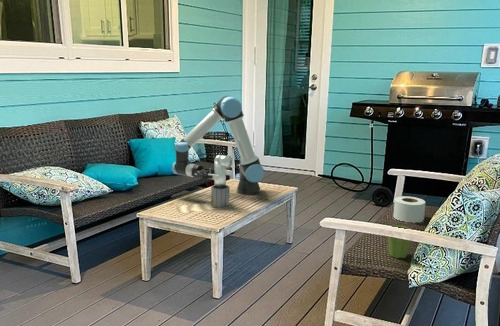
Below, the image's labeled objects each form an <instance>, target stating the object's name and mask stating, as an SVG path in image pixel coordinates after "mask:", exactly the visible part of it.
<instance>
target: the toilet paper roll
mask: <svg viewBox="0 0 500 326" xmlns="http://www.w3.org/2000/svg"><path fill="white" fill-rule="evenodd" d="M393 204H394V205H393V216H392V217H394V218H395V219H397V220H400V221H405V222H413V223H415V222H422V221H423V220H424V221H425V212H426V211H425V210H426V204H427V203H426V201H425V200H424V199H422V198H418V197H414V196H404V195H402V196H397V197H395V198H394V203H393ZM394 218H393V219H394ZM395 219H394V220H395ZM424 221H423V222H424ZM423 222H422V223H423Z"/></svg>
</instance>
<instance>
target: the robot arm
mask: <svg viewBox="0 0 500 326" xmlns="http://www.w3.org/2000/svg"><path fill="white" fill-rule="evenodd" d="M242 109H243V107H242V103H241V101H240V100H239V99H238V98H237V97H235V96H231V95H225V96H223V97H221V98H220V100H218V101H217V103H216V104H214V106H213V107H212V109H211V111H210V112H209V113H208V114H207V115H206V116H204V118H202V120H201V121H200V122H199V123H197V124H196V125H195V126H194V127H193V128H192V129H191V130H190V131H189V132H188V133H187V134H186V135H185V136H184V137H183V138H182V139H181V140H180V141H178V142H176V143H175V145H174V150H175V162H173V163H172V166H171V172H173V174H175V175H180V176H185V177H190V178H197V179H201V180H205V181H208V180H218V175H214V167H208V168H207V167H205V168H204V166H203V165H202V164H195V163H189V156H190V155H189V153H190V152H189V151H190V149H192V148H193V146H194V145H195V144H197V143H198V141H200V140H201V139H202V138H203V137H204V136H205V135H206V134H207V133H208V132H209V131H210V130H212V128H213V127H214V126H216V124H217V123H218V122H220V121H221V120H224V122H225V123H227V124H228V125H229V128H230V132H231V133H232V137H233V139H234V143H235V145H236V148H237V151H238V154H239V157H240V159H239V181H238V183H237V187H236V192H237V193H238V194H241V195H247V196H249V195H251V196H252V195H257V194H260V193H261V187H260V184H259V182H260V181H261V180H262V179H263V178H264V176H265V168H264V167H263V166H262V164H261V161H260V159H259V157H258V156H257V155H256V154H255V151H254V149H253V146H252V143H251V140H250V137H249V134H248V131H247V129H246V126H245V123H244V120H243V119H244V116H245V115H244V113H243V110H242ZM226 176H233V170H229V169H226Z"/></svg>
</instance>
